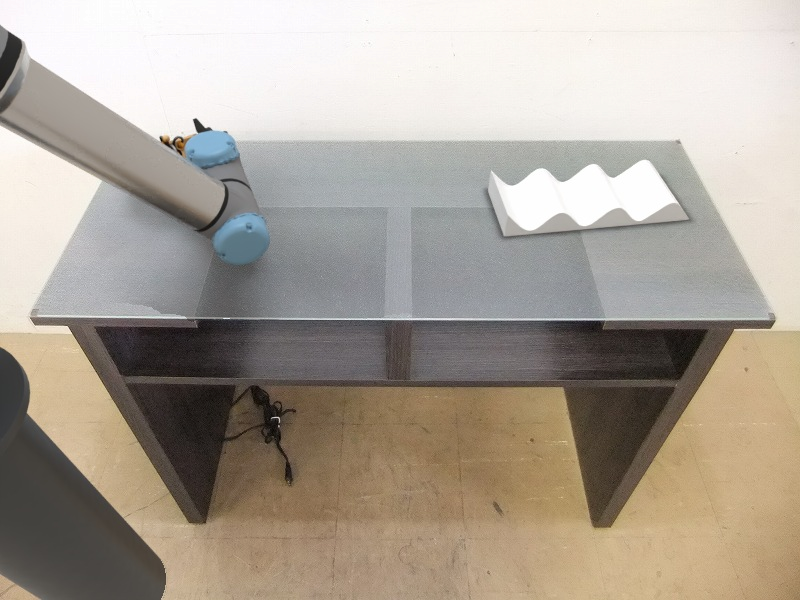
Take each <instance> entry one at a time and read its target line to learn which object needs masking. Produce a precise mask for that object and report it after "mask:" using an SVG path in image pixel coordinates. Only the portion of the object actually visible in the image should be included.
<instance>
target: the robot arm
mask: <svg viewBox="0 0 800 600" xmlns="http://www.w3.org/2000/svg"><path fill="white" fill-rule="evenodd" d="M192 122H193V125H194V128H195V132H196V133H195V134H196V135H195V136H193V137H191V138H190V139H189V140H188V141H187V143H186V145H185V155H186V158H187V159H186V158H184V157H183V156H181V155H180V154H178V153H177V152H175V151H174V150H172V149H171V148H169V147H167V146H166V145H164V144H163V143H161V141H160V140H159V139H157V138H155V137H154V136H152V135H150V134H149V133H148V132H146V131H144V130H143V129H142V128H140V127H138V126H137V125H136V124H134V123H132V122H131V121H129V120H128V119H126V118H124V117H123V116H121V114H118V113H116V112H115V111H114V110H112V109H111V108H109V107H108V106H106V105H104V104H103V103H102V102H99V101H98V100H97V99H95V98H93V97H92V96H91V95H89V94H88V93H86V92H84V90H81V89H79V88H78V87H76V86H75V85H73V84H72V83H70V81H67V80H66V79H64V78H63V77H61V76H60V75H58V74H56V73H55V72H54V71H52V70H51V69H49V68H48V67H46V66H44V65H43V64H41V63H39V62H38V61H37V60H35V59H33V58H32V57H31V56H30V54H29V52H28V48H27V45H26V42H25V41H24V40H23V39H21V38H20V37H18V36H17V35H15V34H14V33H12V32H11V31H9V30H7V29H6V28H5V27H4V26H3V25H1V24H0V127H2V128H4V129H5V130H8V131H9V132H11V133H13V134H15V135H16V136H19V137H21V138H22V139H24V140H26V141H27V142H30V143H32V144H33V145H35V146H37V147H39V148H41V149H43V150H45V151H46V152H48V153H50V154H52V155H54V156H56V157H58V158H59V159H61V160H63V161H65V162H67V163H69V164H70V165H72V166H75V167H76V168H78V169H80V170H82V171H83V172H85V173H87V174H89V175H91V176H92V177H95V178H96V179H98V180H99V181H103V182H104V183H106V184H108V185H109V186H111V187H113V188H115V189H117V190H119V191H120V192H123V193H125V194H126V195H128V196H130V197H132V198H134V199H135V200H137V201H139V202H141V203H143V204H144V205H147V206H148V207H150V208H152V209H154V210H156V211H158V212H160V213H162V214H163V215H165V216H167V217H169V218H171V219H172V220H175V221H177V222H178V223H180V224H182V225H183V226H186V227H187V228H189V229H191V230H193V231H194V232H196V233H197V234H200V235H201V236H203V237H205V238H207V239H208V240H210V241H211V246H212V248H213V250H215V252H216V255H217V256H218V257H219V258H220V259H221V260H222V261H223V262H225V263H227V264H229V265H234V266H242V265H243V266H245V265H248V264H252V263H254V262H257V260H259V259H260V258H261V257H263V255H264V254H265V253H266V252H267V250H268V249H269V246H270V241H271V237H270V232H269V230H268V226H267V220H266V218H265V216H263V213H262V211H261V210H260V207H259V203H258V202H257V199H256V197H255V194H254V192H253V190H252V187H251V185H250V182H249V180H248V177H247V175H246V172H245V170H244V167H243V165H242V161H241V157H240V156H241V153H240V151H239V150H238V146H237V144H236V140H235V138H234V137H233V136H232V135H231V134H229V132H228V131H227V130H223V131H222V130H213V129H212V127H210V126H207V127H205V126H204V125H203V123H202V122H200V120H199V119H198V118H197V117H195V118H193V119H192Z"/></svg>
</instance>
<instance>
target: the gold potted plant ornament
mask: <svg viewBox="0 0 800 600" xmlns="http://www.w3.org/2000/svg"><path fill="white" fill-rule="evenodd" d="M183 137H184V136H182V135H176V136H174V138H173V139H172V141H173V142H172V144H173V145H170V144H169V141H171V139H170V136H169V135H168V134H164V135H159V141H160V142H161V143H163V144H164V145H166V146H167V147H169V148H171V149H172V150H173V149H174V151H175V152H177V153H178V152H179V153H180V155H181V156H183V157H184V155H182V152H181V151H180V150H179V149H177V148H176V146H175V141H176V140H177V139H179V138H180V139H181V141H180V142H178V143H177V147H178V148H180V149H182V148H184V143H183V142H184V139H183ZM179 153H178V154H179Z"/></svg>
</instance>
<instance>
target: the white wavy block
mask: <svg viewBox="0 0 800 600" xmlns="http://www.w3.org/2000/svg"><path fill="white" fill-rule="evenodd" d="M487 193H488V195H489V198H490V201H491V203H492V208H493V209H494V213H495V216H496V218H497V221H498V223H499V227H500V230H501V232H502V235H503V237H514V236H515V237H516V236H525V235H527V236H528V235H537V234H548V233H558V232H569V231H570V232H571V231H581V230H592V229H603V228H614V227H615V228H616V227H624V226H625V227H626V226H635V225H647V224H657V223H659V224H660V223H668V222H681V221H689V220H690V218H689V217H688V215H687V212H685V209H683V207H682V205H680V203H679V201H678V200H677V199H676V197H675V196H674V194H673V193H672V191H671V189H670V188H669V187H668V185H667V184H666V182H665V181H664V179H663V178H662V176H661V175H660V173H659V172H658V170H657V169H656V167H655V165H654V164H653V163H652V162H651V161H649V160H648V159H642V160H639V161H637V162H636V163H635V164H633V165H631V166H630V167H629V168H627V169H626V170H624V171H623V172H621V173H619V174H618V175H616V176H614V177H612V176H610V175H608V174H607V173H606V172H605V171H604V170H603V169H602V167H601V166H600V165H598V164H596V163H591V164H588V165H586V166H585V167H583V168H582V169H581V170H580V171H578V172H577V173H576V174H575V175H573V176H572V177H571V178H570V179H568V180H565V181H560V180H558V179H557V178H556V177H555V176H554V175H552V174H551V172H550V171H549V170H547V169H546V168H542V167H541V168H537V169H535V170H534V171H532V172H531V173H529V174H528V175H527V176H526V177H525V178H524V179H522V180H521V181H520V182H518V183H516V184H514V185H509V184H507V183H506V182H505V181H503V180H502V179H501V178H500V177H499V176H497V174H496V173H495V172H494V171H493V170H492V169H490V173H489V180H488V188H487Z"/></svg>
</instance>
